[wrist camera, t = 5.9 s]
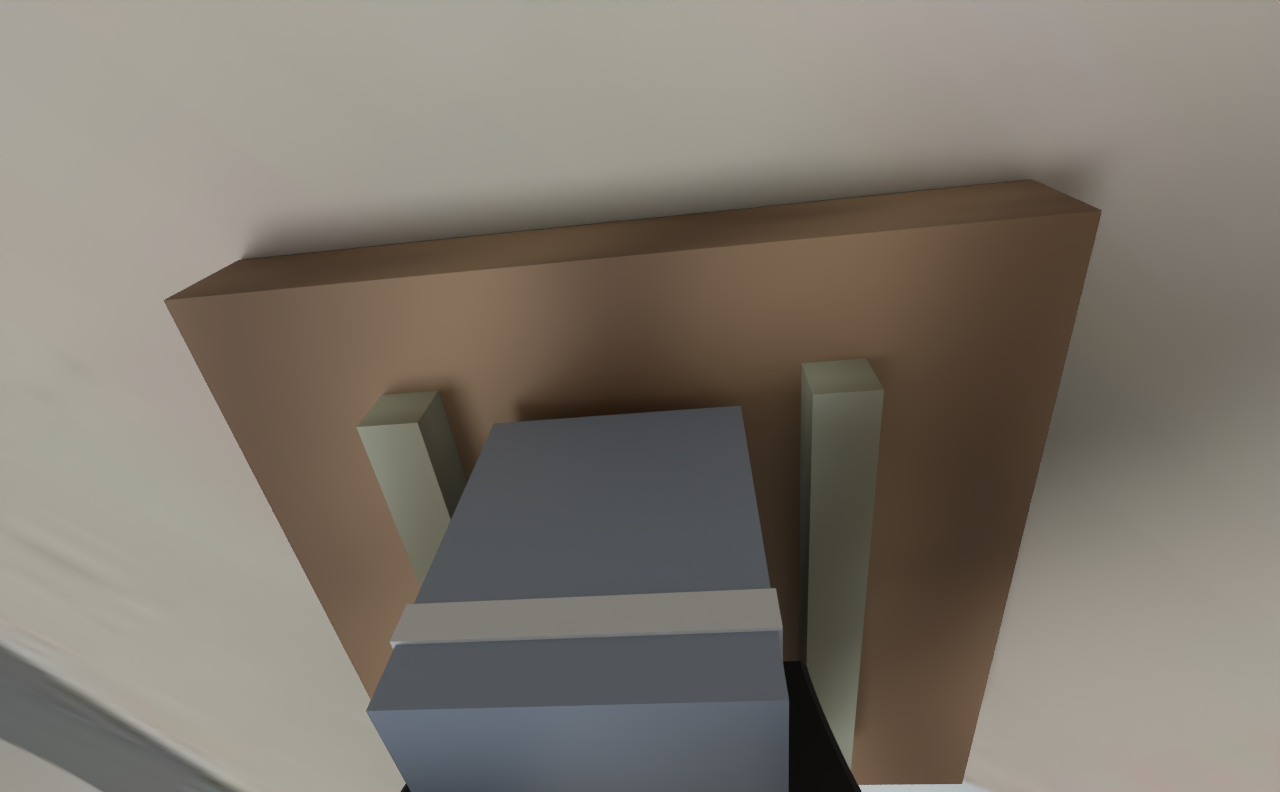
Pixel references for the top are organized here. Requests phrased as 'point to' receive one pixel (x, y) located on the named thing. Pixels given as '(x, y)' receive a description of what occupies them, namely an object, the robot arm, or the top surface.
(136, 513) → the top surface
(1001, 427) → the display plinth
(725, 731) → the blue-grey lidded box
